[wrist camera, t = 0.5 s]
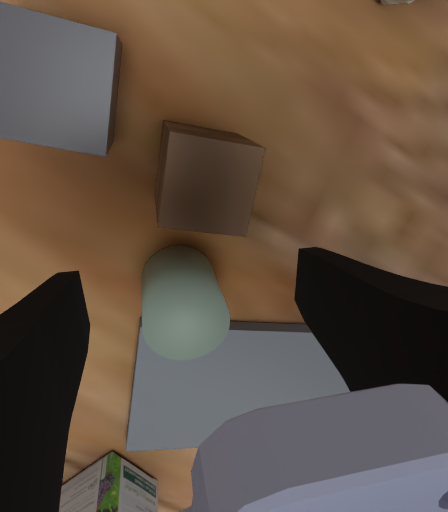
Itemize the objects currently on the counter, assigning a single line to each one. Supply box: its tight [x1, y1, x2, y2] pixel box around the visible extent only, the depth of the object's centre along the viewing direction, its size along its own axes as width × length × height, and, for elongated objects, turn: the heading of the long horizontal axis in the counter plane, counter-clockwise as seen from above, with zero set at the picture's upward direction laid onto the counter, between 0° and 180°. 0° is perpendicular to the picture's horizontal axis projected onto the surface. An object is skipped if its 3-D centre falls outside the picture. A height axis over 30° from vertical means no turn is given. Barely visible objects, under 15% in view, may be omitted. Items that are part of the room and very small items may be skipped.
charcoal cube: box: [0, 2, 122, 157], centre depth 15 cm, size 4×4×4 cm
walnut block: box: [155, 120, 266, 237], centre depth 18 cm, size 4×4×5 cm
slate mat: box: [126, 318, 350, 452], centre depth 27 cm, size 18×11×1 cm, turn 79°
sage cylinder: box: [142, 245, 230, 360], centre depth 20 cm, size 4×4×5 cm
